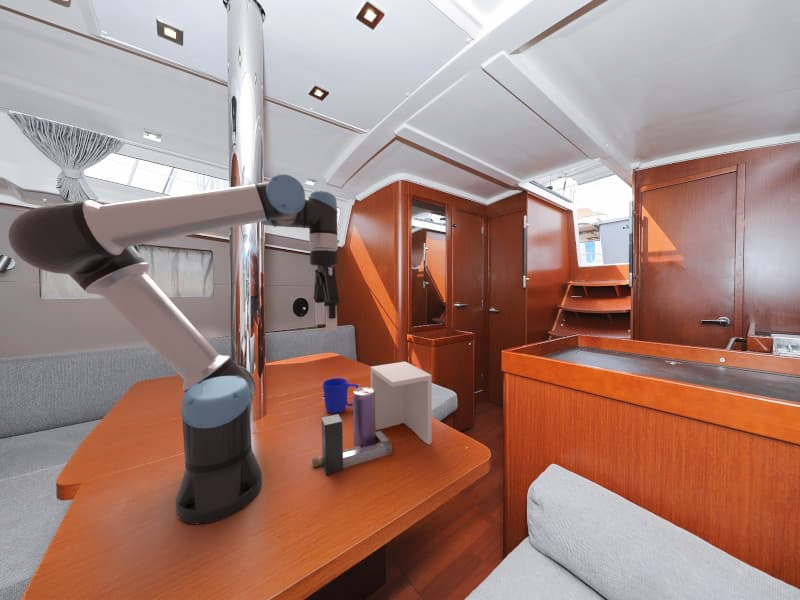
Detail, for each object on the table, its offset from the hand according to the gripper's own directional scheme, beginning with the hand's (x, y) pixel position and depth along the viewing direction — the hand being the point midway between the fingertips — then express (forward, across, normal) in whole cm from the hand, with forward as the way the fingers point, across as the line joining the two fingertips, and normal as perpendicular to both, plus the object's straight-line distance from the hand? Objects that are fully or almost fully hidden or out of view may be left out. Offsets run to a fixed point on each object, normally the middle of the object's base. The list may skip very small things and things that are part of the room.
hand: (325, 327), depth 80 cm
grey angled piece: (+32, -12, -4) cm, 34 cm away
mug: (+32, +15, -8) cm, 36 cm away
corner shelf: (+32, -10, -18) cm, 38 cm away
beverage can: (+32, -9, -8) cm, 34 cm away
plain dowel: (+32, -12, 0) cm, 34 cm away
